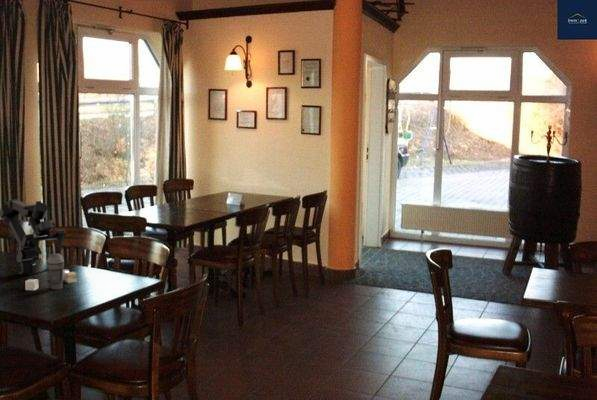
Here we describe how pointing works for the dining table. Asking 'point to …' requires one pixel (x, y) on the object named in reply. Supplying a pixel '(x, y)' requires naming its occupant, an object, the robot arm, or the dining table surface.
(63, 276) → the metal tin
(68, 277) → the birch block
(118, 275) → the dining table surface
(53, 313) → the dining table surface
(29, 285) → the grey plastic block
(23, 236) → the robot arm
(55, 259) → the beverage cup
